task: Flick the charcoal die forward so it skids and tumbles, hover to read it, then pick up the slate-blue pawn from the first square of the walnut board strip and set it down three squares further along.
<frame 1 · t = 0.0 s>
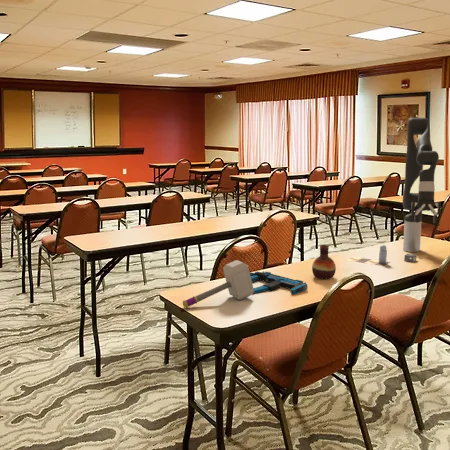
hand: (425, 222, 270), 22 cm above the table, tool pointing down, fingers open, 8 cm apart
submachine gun: (266, 287, 242), on the table
board: (368, 263, 280), on the table
hammer: (217, 302, 220), on the table
vase: (323, 277, 255), on the table
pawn: (382, 263, 275), point 1 cm above the table, touching board
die: (410, 263, 280), on the table
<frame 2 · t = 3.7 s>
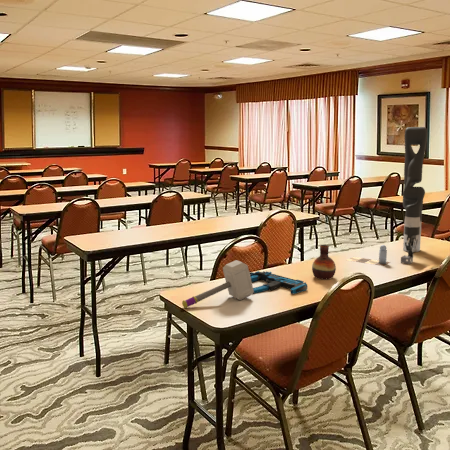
hand: (410, 258, 278), 3 cm above the table, tool pointing down, fingers closed
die: (406, 265, 276), on the table, touching gripper
everything else where it was.
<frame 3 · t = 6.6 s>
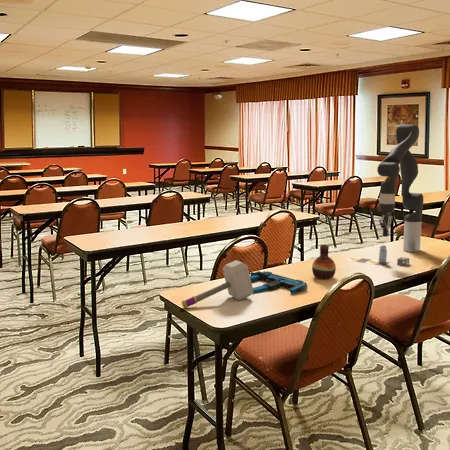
hand: (385, 236, 272), 16 cm above the table, tool pointing down, fingers closed
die: (403, 267, 272), on the table
everything else where it was.
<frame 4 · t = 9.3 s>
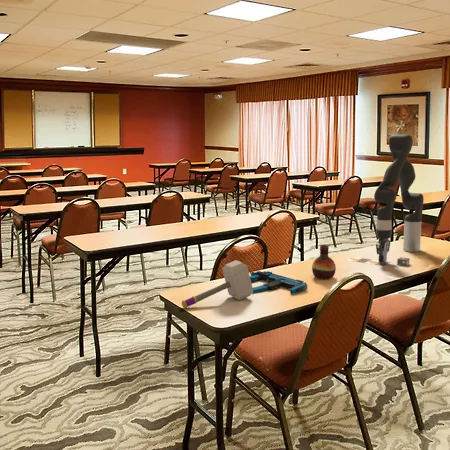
hand: (382, 261, 274), 3 cm above the table, tool pointing down, fingers closed on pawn, 3 cm apart
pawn: (382, 263, 275), point 1 cm above the table, touching board, gripper
everything else where it was.
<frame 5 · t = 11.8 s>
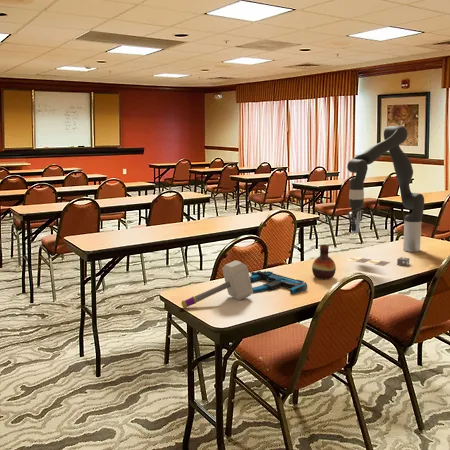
hand: (355, 230, 282), 17 cm above the table, tool pointing down, fingers closed on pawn, 3 cm apart
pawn: (355, 232, 282), point 16 cm above the table, touching gripper
everything else where it was.
when the fingers open (3 cm above the table, at t = 14.6 s): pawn stays where it is, resting on board.
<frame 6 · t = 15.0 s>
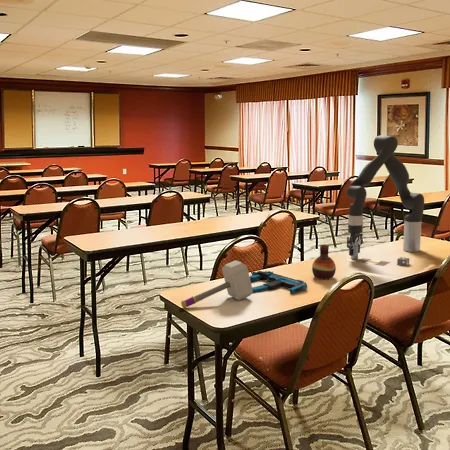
hand: (354, 254, 284), 4 cm above the table, tool pointing down, fingers open, 7 cm apart
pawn: (354, 259, 284), point 1 cm above the table, touching board
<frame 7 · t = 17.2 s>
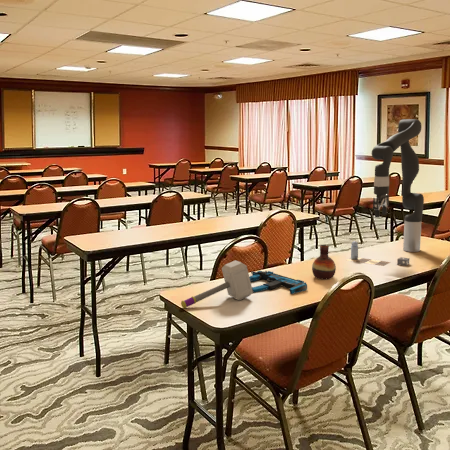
hand: (380, 215, 279), 25 cm above the table, tool pointing down, fingers open, 8 cm apart
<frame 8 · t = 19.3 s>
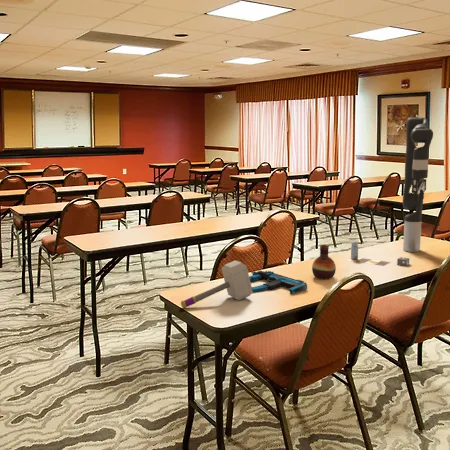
hand: (418, 200, 275), 33 cm above the table, tool pointing down, fingers open, 8 cm apart
at the end: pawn 0.1 cm from the target spot on the board, point 1.4 cm above the board's base; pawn tilted 1°; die moved 10.0 cm from its start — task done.
